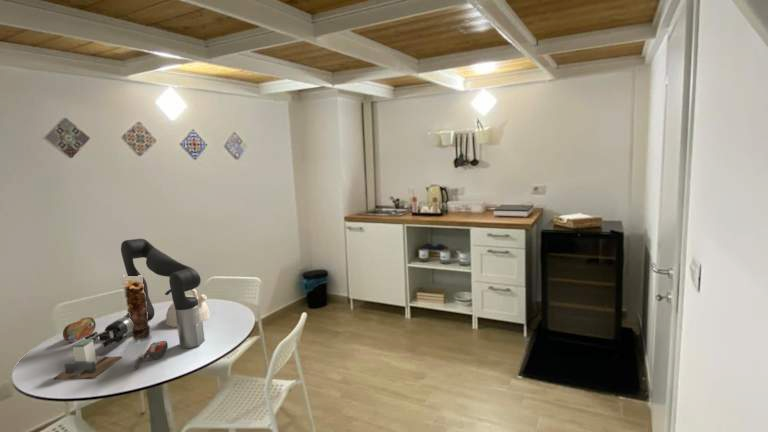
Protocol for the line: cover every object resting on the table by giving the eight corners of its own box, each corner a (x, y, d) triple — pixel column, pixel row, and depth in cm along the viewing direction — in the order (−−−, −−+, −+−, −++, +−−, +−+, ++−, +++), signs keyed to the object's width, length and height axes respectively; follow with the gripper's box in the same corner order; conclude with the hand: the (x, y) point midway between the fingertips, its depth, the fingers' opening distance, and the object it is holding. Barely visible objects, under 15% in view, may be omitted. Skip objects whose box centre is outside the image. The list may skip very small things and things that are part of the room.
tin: (68, 345, 190) (65, 327, 189) (63, 345, 191) (59, 327, 190) (97, 331, 205) (94, 314, 203) (91, 330, 205) (89, 314, 204)
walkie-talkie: (147, 349, 183) (132, 371, 164) (146, 339, 183) (130, 361, 163) (169, 345, 185) (157, 367, 166) (168, 336, 185) (155, 357, 166)
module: (96, 362, 169) (92, 339, 168) (87, 369, 164) (83, 344, 163) (86, 362, 169) (82, 339, 168) (76, 369, 164) (72, 345, 163)
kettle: (200, 326, 204) (195, 290, 202) (157, 328, 205) (152, 292, 202) (216, 310, 224) (213, 277, 222) (178, 312, 225) (174, 279, 222)
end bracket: (96, 370, 164) (94, 361, 164) (93, 372, 163) (91, 363, 162) (69, 371, 165) (67, 361, 164) (66, 373, 163) (64, 363, 163)
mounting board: (122, 357, 176) (121, 356, 175) (94, 378, 160) (94, 376, 160) (84, 358, 176) (84, 357, 176) (53, 379, 160) (53, 377, 160)
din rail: (105, 357, 175) (105, 356, 175) (80, 375, 161) (79, 373, 161) (97, 358, 175) (97, 356, 175) (71, 376, 161) (71, 374, 161)
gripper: (102, 320, 186) (75, 337, 170) (134, 319, 186) (109, 335, 170) (105, 337, 187) (78, 354, 171) (136, 335, 187) (112, 353, 171)
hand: (93, 345), depth 171 cm, fingers open, 8 cm apart
